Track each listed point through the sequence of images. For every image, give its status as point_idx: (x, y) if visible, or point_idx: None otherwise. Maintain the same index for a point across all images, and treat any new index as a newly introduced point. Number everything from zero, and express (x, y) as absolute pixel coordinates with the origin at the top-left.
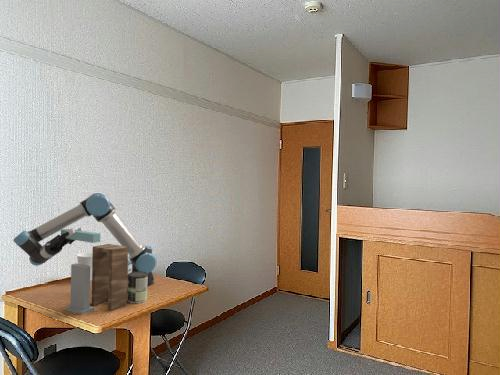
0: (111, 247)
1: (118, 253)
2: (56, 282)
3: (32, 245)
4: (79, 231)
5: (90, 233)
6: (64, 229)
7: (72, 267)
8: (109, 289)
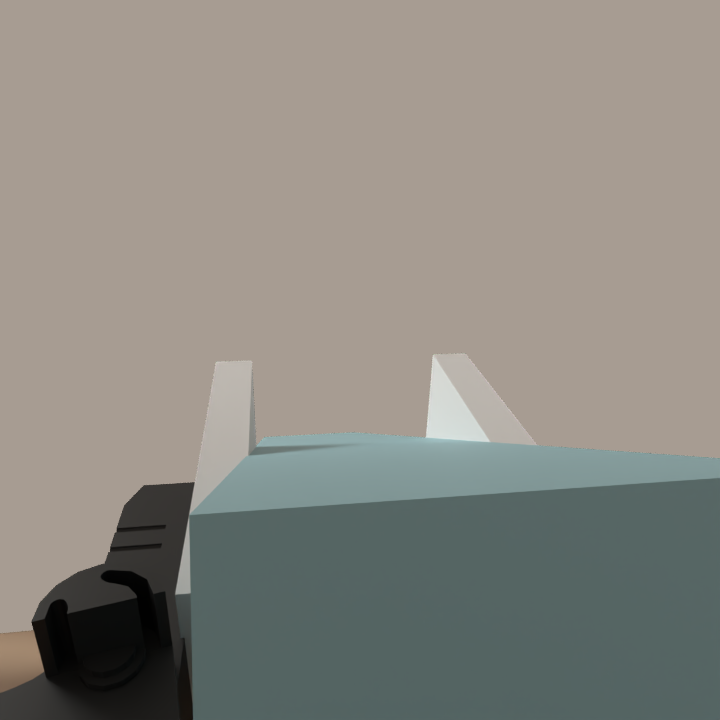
0: (34, 670)
1: None
2: None
3: None
4: (343, 440)
5: (337, 434)
6: (577, 471)
7: None
8: None
